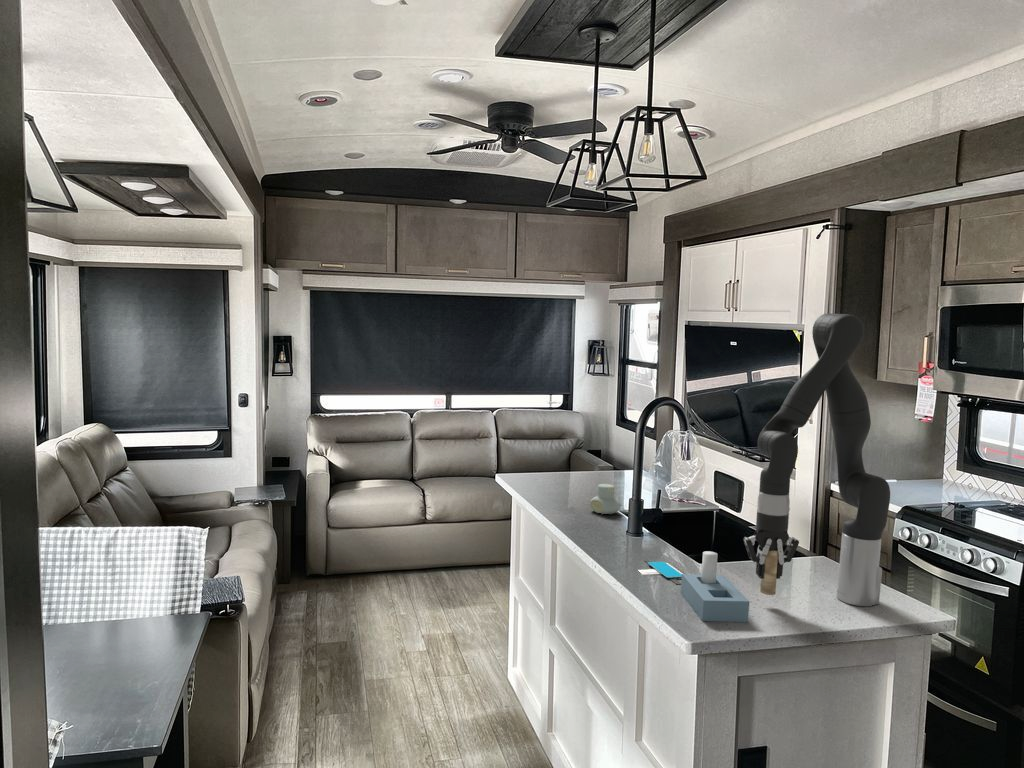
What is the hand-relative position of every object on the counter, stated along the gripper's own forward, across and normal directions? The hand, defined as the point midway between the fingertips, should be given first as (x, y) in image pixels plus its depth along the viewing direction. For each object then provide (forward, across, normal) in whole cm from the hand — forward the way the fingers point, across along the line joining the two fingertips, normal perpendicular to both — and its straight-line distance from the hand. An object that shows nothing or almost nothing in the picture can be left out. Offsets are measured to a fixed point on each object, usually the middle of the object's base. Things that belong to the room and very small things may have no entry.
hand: (768, 577), depth 189 cm
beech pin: (+4, 0, 0) cm, 4 cm away
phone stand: (+8, +22, -23) cm, 32 cm away
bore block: (+7, +14, +2) cm, 16 cm away
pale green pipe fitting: (+7, +26, -85) cm, 89 cm away
